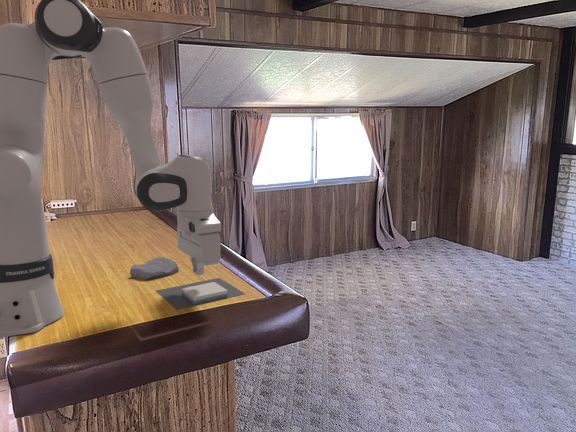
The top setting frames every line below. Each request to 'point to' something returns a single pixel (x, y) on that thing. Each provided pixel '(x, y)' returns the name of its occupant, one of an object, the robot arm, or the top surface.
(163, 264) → the stone block
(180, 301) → the mat
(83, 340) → the top surface
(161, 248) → the top surface
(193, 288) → the tile
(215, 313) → the top surface
